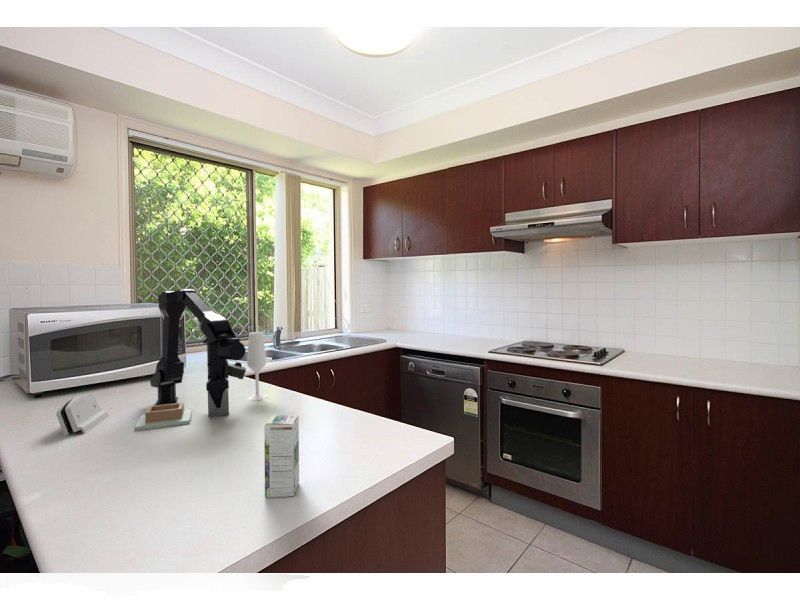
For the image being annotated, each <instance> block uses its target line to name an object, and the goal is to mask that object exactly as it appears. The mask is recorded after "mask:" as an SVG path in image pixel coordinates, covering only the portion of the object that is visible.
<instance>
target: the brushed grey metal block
mask: <svg viewBox="0 0 800 600" xmlns="http://www.w3.org/2000/svg"><path fill="white" fill-rule="evenodd" d="M229 398H230V397H229V389H226V390H225V391H224V392H223V396H222V402H221V407H220V408H216V406H215V404H214V402H213V400H212V398H211V396H210V394H209V392H208V391H207V414H208V416H207V417H219V416H225V415H226V416H229V415H230V408H229V407H230V406H229V405H230V402H229Z"/></svg>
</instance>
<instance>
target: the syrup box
mask: <svg viewBox="0 0 800 600" xmlns="http://www.w3.org/2000/svg"><path fill="white" fill-rule="evenodd" d="M299 417H300V416H299V415H295V414H277V415H276V414H275V415H271V416H270V417H269V419H268V421H266V423H265V424H264V431H263V432H264V434H263V435H264V498H265V499H272V498H274V499H275V498H284V497H285V498H286V497H295V495H296V492H297V490H298V486H299V483H300V451H299V450H300V432H299V431H300V428H299V427H300V425H299V422H300V420H299Z"/></svg>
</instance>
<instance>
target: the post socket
mask: <svg viewBox="0 0 800 600" xmlns="http://www.w3.org/2000/svg"><path fill="white" fill-rule="evenodd" d="M184 405H185V404H184V402H176V403H167V404H158V405H156V404H155V405H150V406H148V408H147V409H146V411H145V413H142V415H141V417H140V418H139V419H138V421H137V422H136V424H135V426H134V431H140V430H149V429H156V428H164V427H173V425H174V426H181V425H180V424H182V425H188V423H189V424H190V423H191V420H190V419H192V414H193V408H185V409H184V407H185V406H184Z"/></svg>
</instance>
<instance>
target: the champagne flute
mask: <svg viewBox="0 0 800 600" xmlns="http://www.w3.org/2000/svg"><path fill="white" fill-rule="evenodd" d="M265 348H266V347H265V340H264V332H262V331H253V332H249V333H248V343H247V356H246V358H247V359H246V365H247V367H248V368H249V369H250V370H252V372H254V373H255V374H254V376H255V393H254V394H252V395H250V397H248V398H247V400H248V399H249V400H248V401H252V400H256V401H262V400H261V399H263V400H265V399H264V398H266V396H267V395H265V394H262V393H261V392H260V381H259V380H260V378H259V375H260V374H259V372H260V371H262V369H264V367H265V366H266V364H267V357H266V349H265ZM266 399H267V398H266Z"/></svg>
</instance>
